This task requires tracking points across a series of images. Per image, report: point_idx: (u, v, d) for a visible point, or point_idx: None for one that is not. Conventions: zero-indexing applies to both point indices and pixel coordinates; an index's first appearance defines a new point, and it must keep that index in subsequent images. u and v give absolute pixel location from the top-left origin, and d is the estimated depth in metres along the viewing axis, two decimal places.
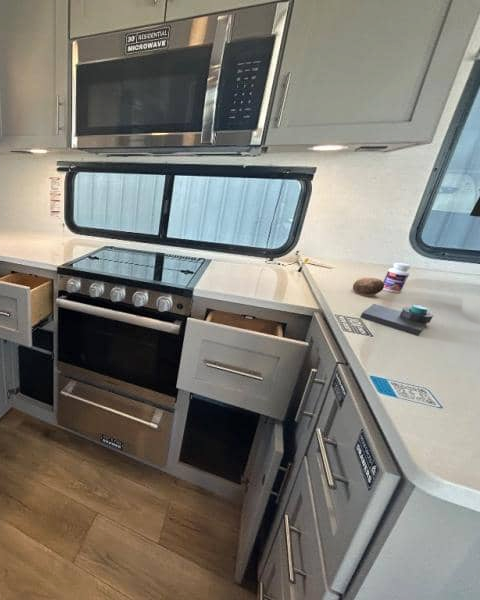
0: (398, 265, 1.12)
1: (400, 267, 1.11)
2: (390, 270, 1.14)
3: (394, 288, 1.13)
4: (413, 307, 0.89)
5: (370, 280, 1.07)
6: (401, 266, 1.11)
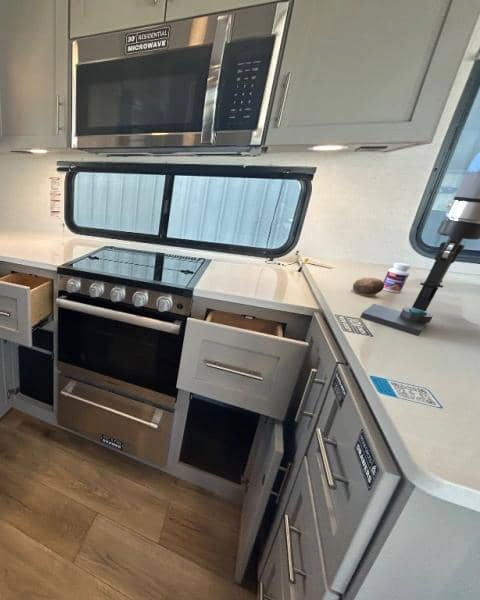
0: (398, 265, 1.12)
1: (400, 267, 1.11)
2: (390, 270, 1.14)
3: (394, 288, 1.13)
4: (412, 310, 0.89)
5: (370, 280, 1.07)
6: (401, 266, 1.11)
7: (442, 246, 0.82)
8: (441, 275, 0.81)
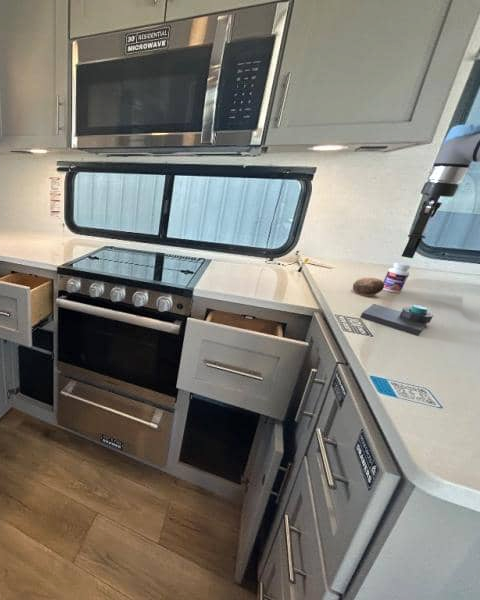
0: (398, 265, 1.12)
1: (400, 267, 1.11)
2: (390, 270, 1.14)
3: (394, 288, 1.13)
4: (413, 307, 0.89)
5: (370, 280, 1.07)
6: (401, 266, 1.11)
7: (425, 203, 1.02)
8: (424, 226, 1.02)
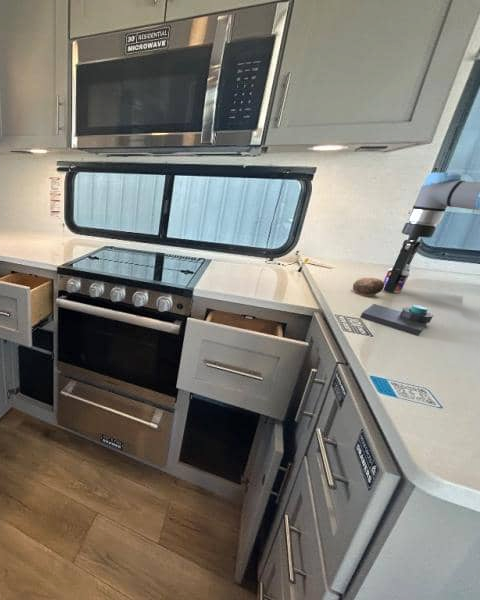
0: None
1: None
2: None
3: None
4: (413, 307, 0.89)
5: (370, 280, 1.07)
6: None
7: (405, 242, 1.09)
8: (404, 263, 1.07)
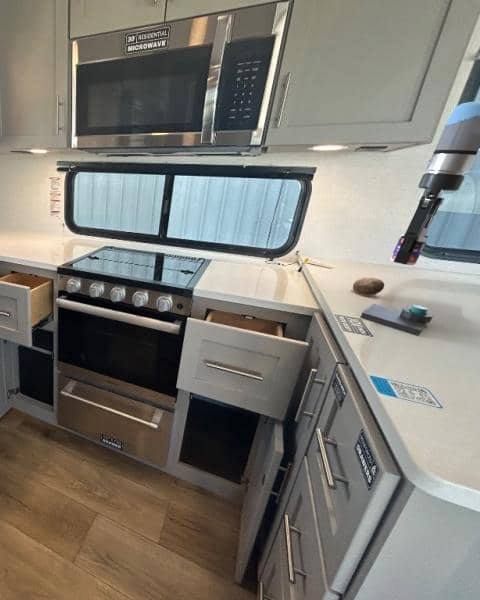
0: None
1: None
2: None
3: None
4: (413, 307, 0.89)
5: (370, 280, 1.07)
6: None
7: None
8: (421, 224, 0.83)
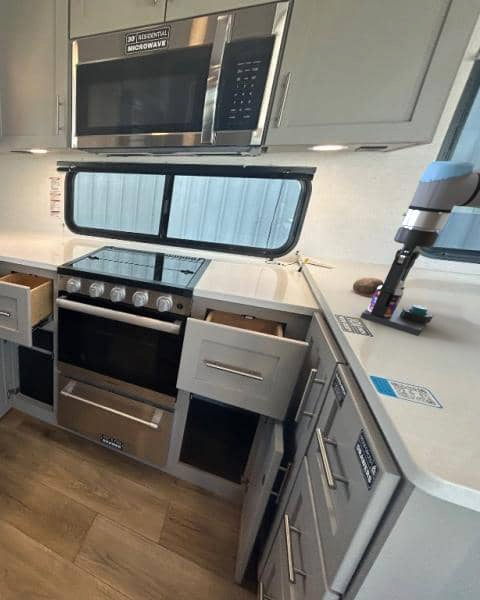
0: None
1: None
2: (379, 288, 0.89)
3: None
4: (413, 307, 0.89)
5: (370, 280, 1.07)
6: None
7: (398, 253, 0.84)
8: (396, 280, 0.82)
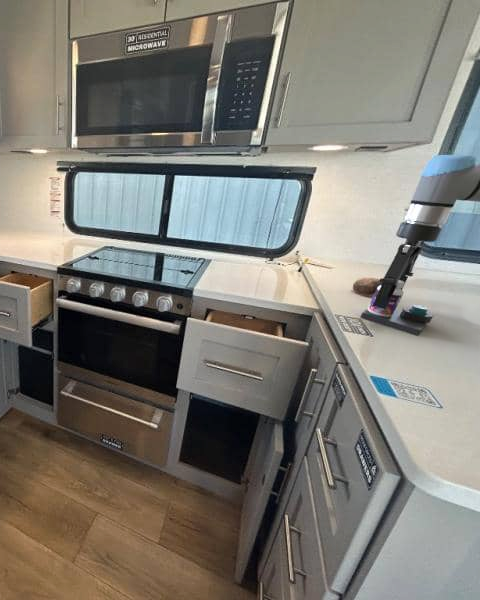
0: None
1: None
2: (379, 288, 0.89)
3: (384, 312, 0.88)
4: (413, 307, 0.89)
5: (370, 280, 1.07)
6: None
7: None
8: (400, 269, 0.79)
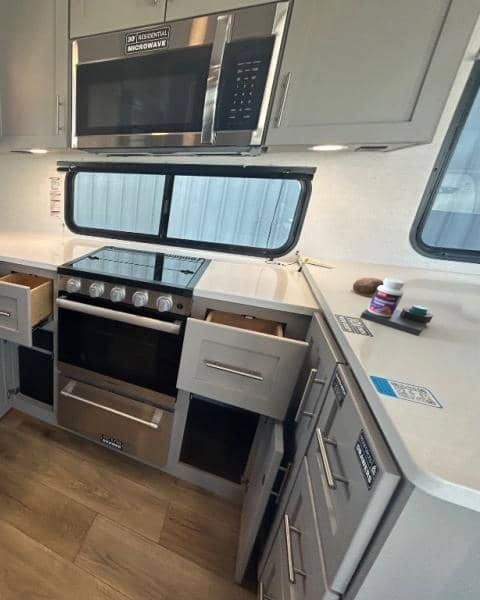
0: (389, 282, 0.87)
1: (392, 285, 0.86)
2: (379, 288, 0.89)
3: (384, 312, 0.88)
4: (413, 307, 0.89)
5: (370, 280, 1.07)
6: (393, 283, 0.86)
7: None
8: None
